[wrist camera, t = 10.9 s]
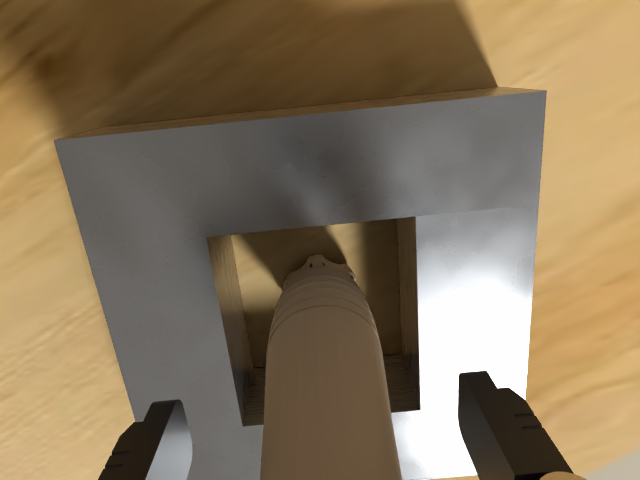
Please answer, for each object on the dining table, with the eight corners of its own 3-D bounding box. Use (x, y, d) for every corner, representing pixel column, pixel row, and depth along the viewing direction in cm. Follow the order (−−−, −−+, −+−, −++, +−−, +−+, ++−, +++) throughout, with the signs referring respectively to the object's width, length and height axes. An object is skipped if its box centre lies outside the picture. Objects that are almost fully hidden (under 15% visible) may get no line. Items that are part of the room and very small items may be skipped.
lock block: (105, 126, 19) (53, 140, 15) (498, 86, 19) (546, 90, 15) (182, 436, 24) (159, 503, 20) (486, 408, 24) (520, 470, 20)
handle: (394, 318, 22) (546, 753, 8) (263, 338, 22) (183, 796, 8) (382, 223, 20) (546, 560, 6) (241, 247, 21) (93, 622, 7)
